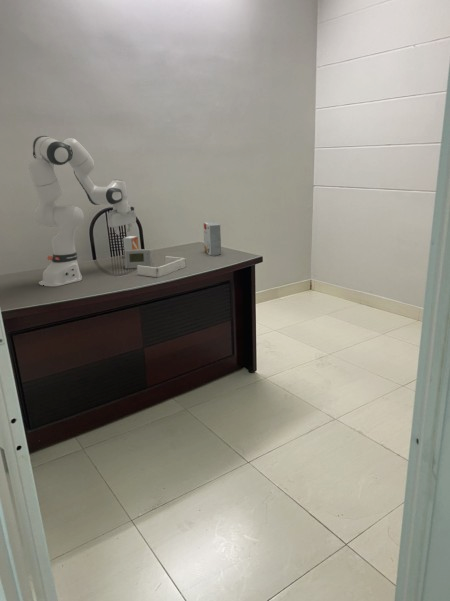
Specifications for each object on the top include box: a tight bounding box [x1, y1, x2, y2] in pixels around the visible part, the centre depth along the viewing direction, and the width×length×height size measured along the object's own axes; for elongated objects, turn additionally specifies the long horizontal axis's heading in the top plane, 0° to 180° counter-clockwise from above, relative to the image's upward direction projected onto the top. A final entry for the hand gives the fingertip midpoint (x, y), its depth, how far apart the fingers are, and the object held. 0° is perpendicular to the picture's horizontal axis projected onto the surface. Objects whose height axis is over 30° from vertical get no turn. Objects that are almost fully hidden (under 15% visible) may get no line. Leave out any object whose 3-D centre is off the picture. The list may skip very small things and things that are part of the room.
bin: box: [136, 255, 187, 278], centre depth 240 cm, size 26×14×5 cm, turn 150°
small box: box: [122, 235, 140, 251], centre depth 277 cm, size 8×6×13 cm
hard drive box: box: [202, 221, 222, 256], centre depth 280 cm, size 16×8×20 cm, turn 17°
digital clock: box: [124, 248, 154, 270], centre depth 248 cm, size 16×9×11 cm, turn 84°
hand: (123, 232), depth 248 cm, fingers open, 8 cm apart
